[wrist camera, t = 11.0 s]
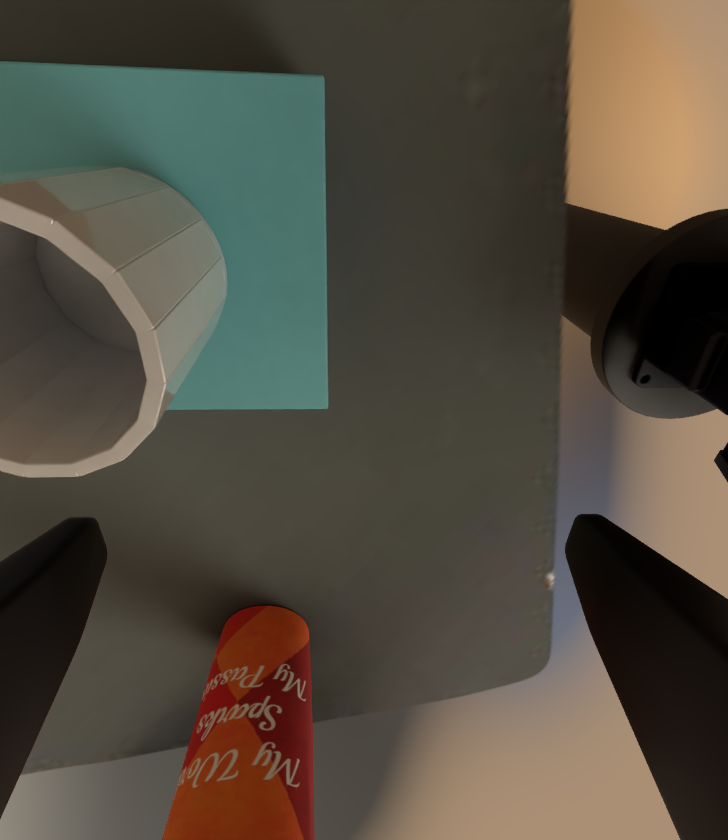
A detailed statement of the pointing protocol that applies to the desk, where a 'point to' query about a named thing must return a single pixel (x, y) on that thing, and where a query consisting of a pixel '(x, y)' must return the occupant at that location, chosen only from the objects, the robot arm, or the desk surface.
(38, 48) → the desk surface
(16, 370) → the beige cup
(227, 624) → the paper cup
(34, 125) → the teal flat box
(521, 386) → the desk surface
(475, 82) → the desk surface
